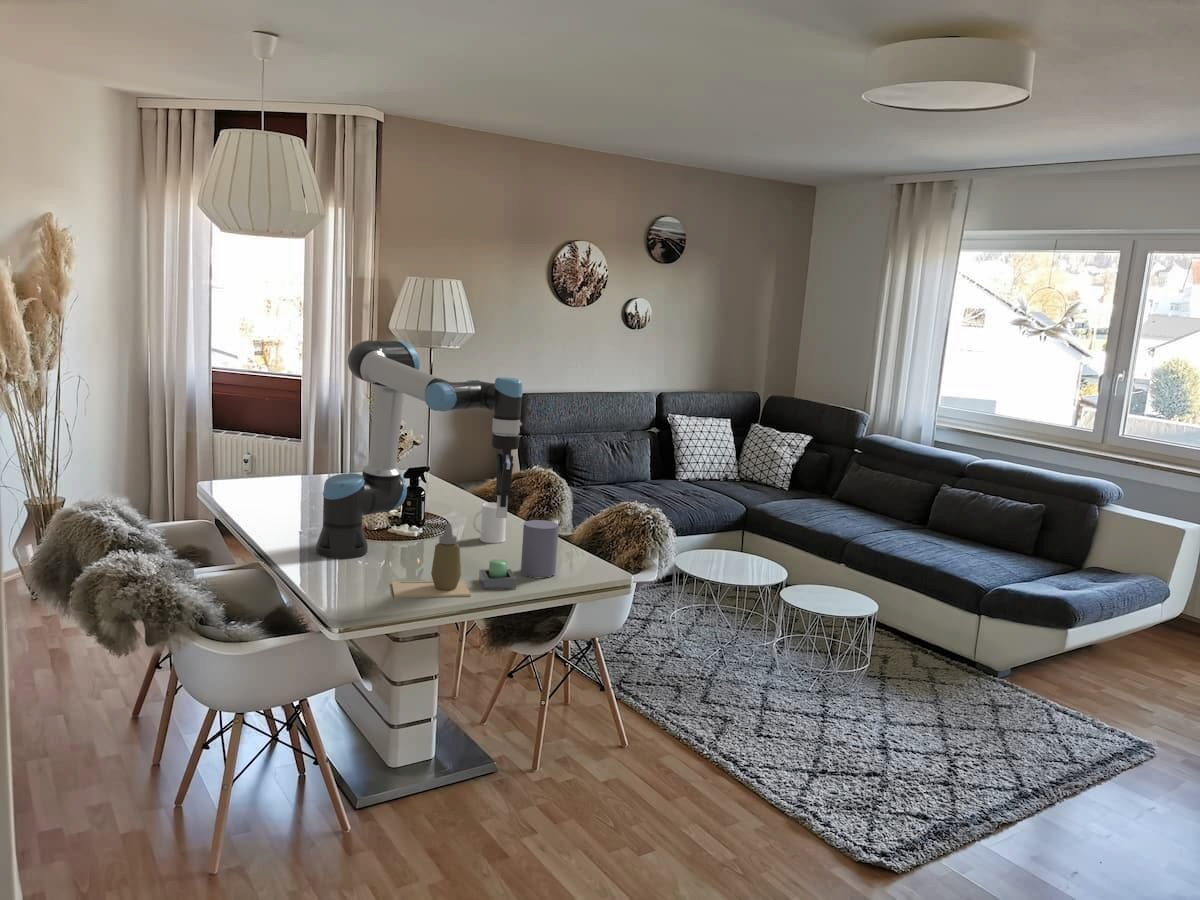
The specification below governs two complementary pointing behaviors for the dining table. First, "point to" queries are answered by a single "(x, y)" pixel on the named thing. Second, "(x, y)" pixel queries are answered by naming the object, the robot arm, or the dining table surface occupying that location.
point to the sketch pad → (427, 589)
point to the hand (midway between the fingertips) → (501, 517)
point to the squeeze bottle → (446, 561)
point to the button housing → (497, 580)
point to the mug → (491, 524)
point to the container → (539, 548)
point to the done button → (497, 568)
